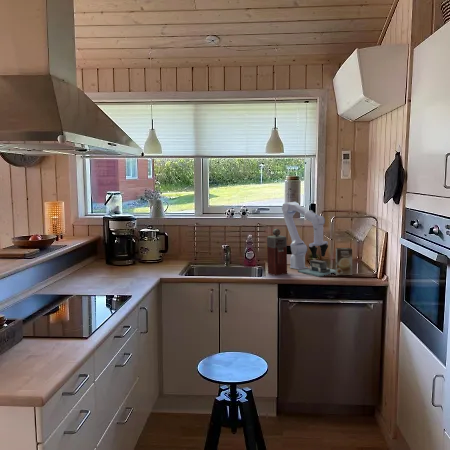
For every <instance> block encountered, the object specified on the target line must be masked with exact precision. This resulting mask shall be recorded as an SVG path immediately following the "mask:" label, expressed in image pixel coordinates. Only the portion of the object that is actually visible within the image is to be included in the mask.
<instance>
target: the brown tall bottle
mask: <svg viewBox="0 0 450 450" xmlns="http://www.w3.org/2000/svg"><path fill="white" fill-rule="evenodd" d="M287 239H288V238H287V237H286V236H285V235H281V230H280V229H279V228H275V229H273V230H272V235H267V237H266V246H267V247H266V249H267V252H266V253H267V273H268V274H270V275H273V276H280V275H286V274H288V252H287V251H288V250H287V248H288V247H287V244H288V243H287Z"/></svg>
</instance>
